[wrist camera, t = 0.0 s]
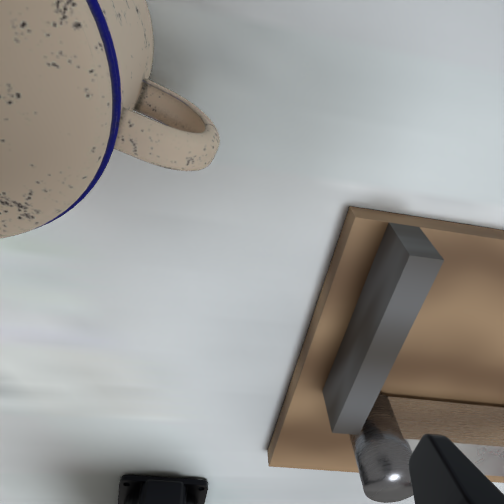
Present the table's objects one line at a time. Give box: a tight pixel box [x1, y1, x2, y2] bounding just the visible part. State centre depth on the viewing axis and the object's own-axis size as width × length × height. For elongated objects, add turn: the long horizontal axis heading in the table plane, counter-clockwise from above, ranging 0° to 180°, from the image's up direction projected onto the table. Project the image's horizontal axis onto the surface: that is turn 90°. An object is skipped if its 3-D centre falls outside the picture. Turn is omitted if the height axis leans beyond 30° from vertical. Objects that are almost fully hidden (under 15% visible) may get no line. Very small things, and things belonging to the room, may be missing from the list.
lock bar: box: [349, 393, 504, 503], centre depth 27 cm, size 14×3×5 cm, turn 79°
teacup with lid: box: [0, 0, 220, 238], centre depth 13 cm, size 12×9×12 cm
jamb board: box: [268, 206, 504, 483], centre depth 28 cm, size 20×22×4 cm
